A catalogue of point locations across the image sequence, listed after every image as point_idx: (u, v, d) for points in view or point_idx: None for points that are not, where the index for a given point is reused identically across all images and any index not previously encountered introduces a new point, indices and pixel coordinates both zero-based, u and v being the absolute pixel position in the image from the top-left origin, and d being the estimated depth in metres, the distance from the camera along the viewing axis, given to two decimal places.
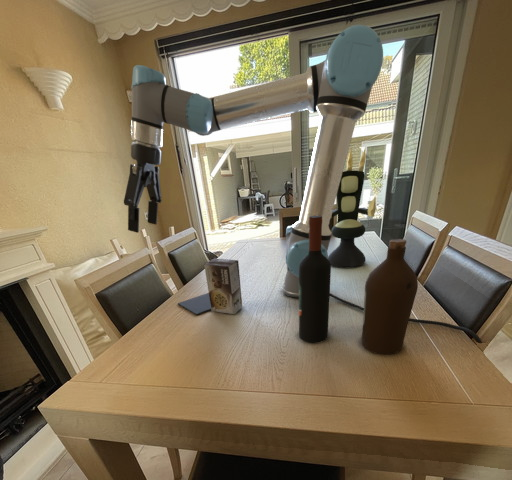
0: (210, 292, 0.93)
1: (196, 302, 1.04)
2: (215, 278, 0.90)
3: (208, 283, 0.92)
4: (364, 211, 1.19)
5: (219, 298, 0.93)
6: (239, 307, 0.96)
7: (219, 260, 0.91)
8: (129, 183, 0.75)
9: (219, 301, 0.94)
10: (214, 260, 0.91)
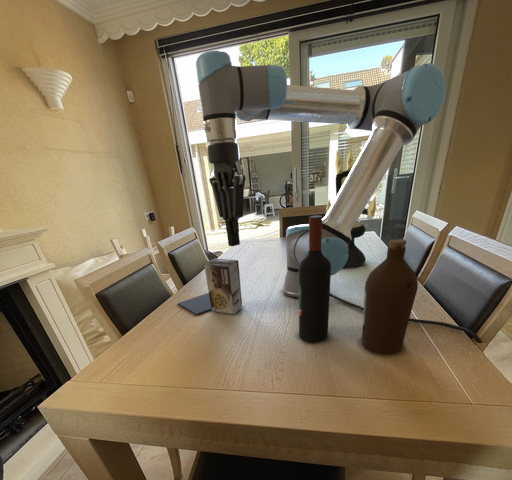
0: (210, 292, 0.93)
1: (196, 302, 1.04)
2: (215, 278, 0.90)
3: (208, 283, 0.92)
4: (364, 211, 1.19)
5: (219, 298, 0.93)
6: (239, 307, 0.96)
7: (219, 260, 0.91)
8: (237, 197, 0.71)
9: (219, 301, 0.94)
10: (214, 260, 0.91)
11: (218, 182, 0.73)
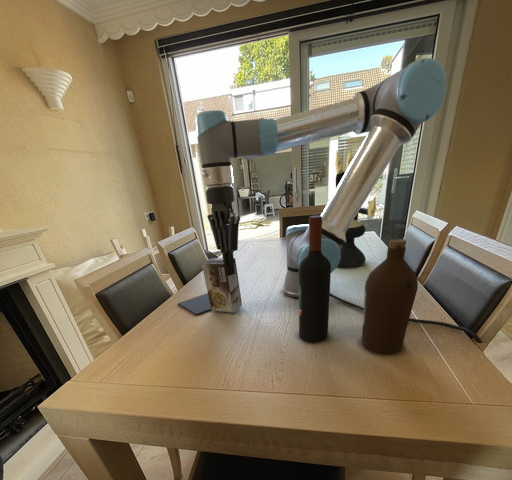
0: (209, 291, 0.94)
1: (196, 302, 1.04)
2: (213, 277, 0.90)
3: (206, 282, 0.92)
4: (364, 211, 1.19)
5: (218, 296, 0.93)
6: (239, 305, 0.96)
7: (216, 259, 0.91)
8: (232, 234, 0.78)
9: (219, 300, 0.94)
10: (211, 259, 0.92)
11: (215, 219, 0.80)
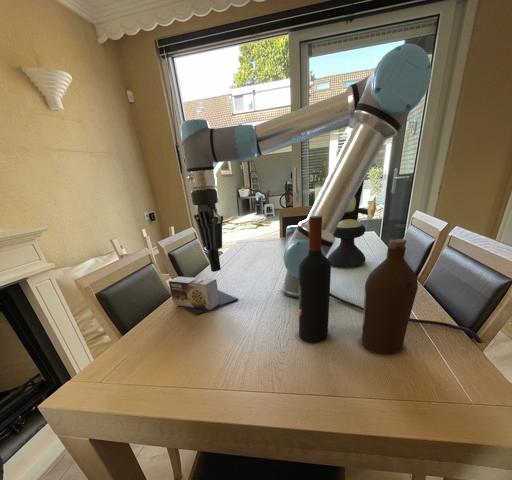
0: (193, 305, 1.00)
1: None
2: (180, 296, 1.00)
3: (186, 305, 1.01)
4: (364, 211, 1.19)
5: (195, 297, 0.97)
6: (210, 280, 0.96)
7: None
8: (216, 233, 0.84)
9: (198, 297, 0.97)
10: None
11: (201, 219, 0.86)
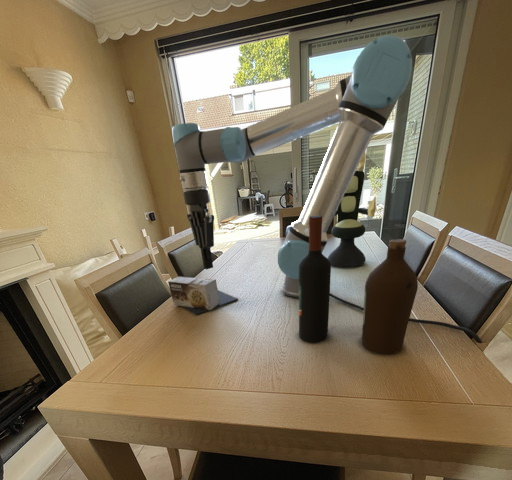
0: (193, 305, 1.00)
1: None
2: (180, 297, 1.00)
3: (186, 305, 1.01)
4: (364, 211, 1.19)
5: (194, 297, 0.97)
6: (210, 281, 0.96)
7: None
8: (208, 232, 0.88)
9: (198, 298, 0.97)
10: None
11: (193, 219, 0.89)
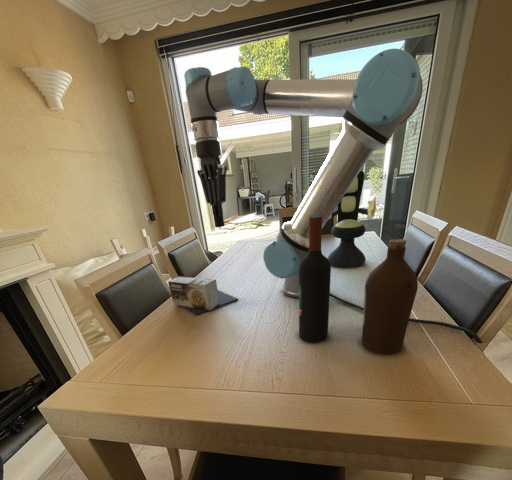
0: (193, 305, 1.00)
1: None
2: (180, 297, 1.00)
3: (186, 305, 1.01)
4: (364, 211, 1.19)
5: (194, 297, 0.97)
6: (210, 281, 0.96)
7: None
8: (220, 185, 0.87)
9: (198, 298, 0.97)
10: None
11: (204, 173, 0.88)
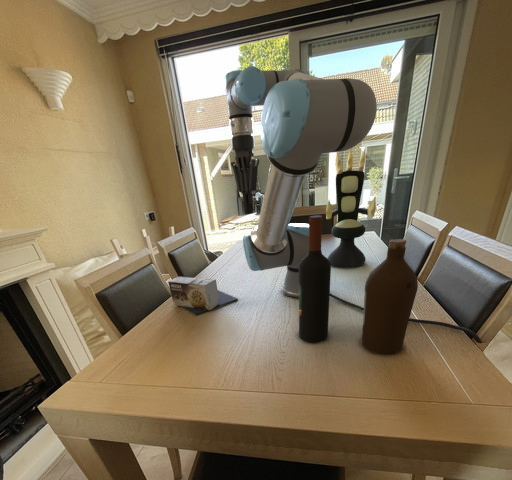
0: (193, 305, 1.00)
1: None
2: (180, 297, 1.00)
3: (186, 305, 1.01)
4: (364, 211, 1.19)
5: (194, 297, 0.97)
6: (210, 281, 0.96)
7: None
8: (252, 175, 0.97)
9: (198, 298, 0.97)
10: None
11: (238, 164, 0.99)
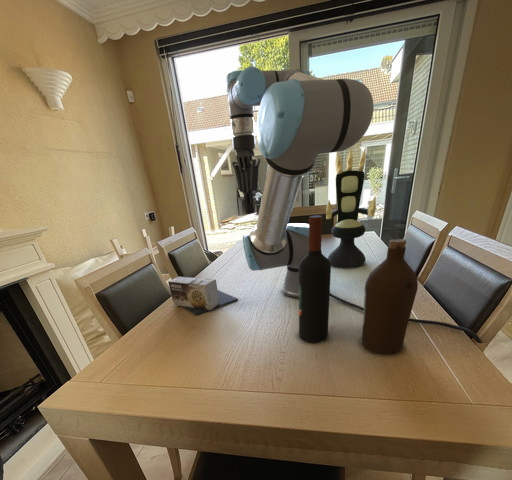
0: (193, 305, 1.00)
1: None
2: (180, 297, 1.00)
3: (186, 305, 1.01)
4: (364, 211, 1.19)
5: (194, 297, 0.97)
6: (210, 281, 0.96)
7: None
8: (253, 175, 0.97)
9: (198, 298, 0.97)
10: None
11: (239, 164, 0.99)
